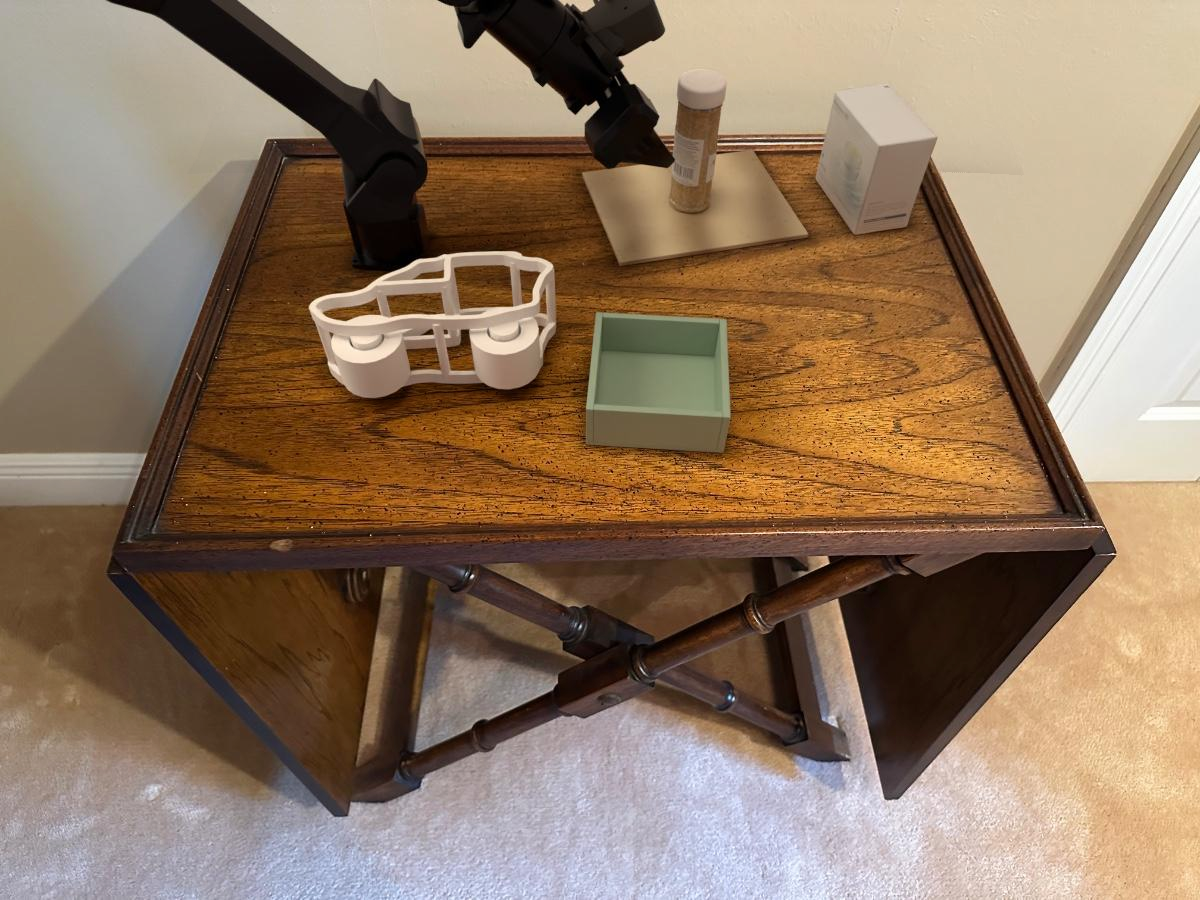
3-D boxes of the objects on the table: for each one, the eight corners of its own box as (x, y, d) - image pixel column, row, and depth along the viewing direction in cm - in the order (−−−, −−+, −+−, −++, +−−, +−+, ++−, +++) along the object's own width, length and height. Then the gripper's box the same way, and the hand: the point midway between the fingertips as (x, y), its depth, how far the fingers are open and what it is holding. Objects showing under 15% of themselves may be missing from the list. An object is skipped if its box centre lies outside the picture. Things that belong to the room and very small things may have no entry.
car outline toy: (324, 414, 69) (301, 351, 63) (337, 324, 76) (317, 260, 70) (563, 399, 71) (561, 336, 65) (554, 311, 77) (552, 247, 72)
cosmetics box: (811, 179, 92) (833, 88, 83) (865, 172, 93) (891, 81, 84) (851, 236, 85) (879, 143, 77) (908, 228, 86) (941, 135, 78)
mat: (619, 266, 82) (619, 262, 81) (582, 176, 91) (582, 172, 91) (807, 237, 85) (808, 233, 85) (752, 153, 95) (752, 149, 94)
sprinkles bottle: (719, 205, 87) (737, 82, 77) (684, 219, 86) (698, 95, 75) (692, 184, 90) (706, 61, 79) (658, 197, 88) (668, 74, 78)
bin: (586, 444, 68) (585, 409, 64) (595, 348, 75) (596, 311, 71) (723, 453, 67) (730, 417, 64) (720, 355, 74) (726, 318, 71)
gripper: (641, 5, 61) (756, 126, 72) (581, -87, 73) (688, 29, 83) (541, 117, 66) (662, 215, 77) (499, 14, 77) (610, 112, 88)
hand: (656, 137), depth 81 cm, fingers open, 9 cm apart
